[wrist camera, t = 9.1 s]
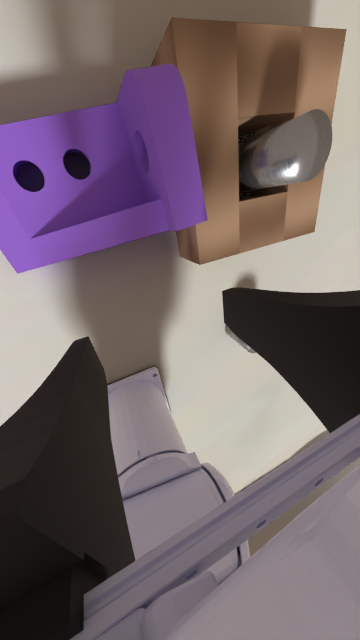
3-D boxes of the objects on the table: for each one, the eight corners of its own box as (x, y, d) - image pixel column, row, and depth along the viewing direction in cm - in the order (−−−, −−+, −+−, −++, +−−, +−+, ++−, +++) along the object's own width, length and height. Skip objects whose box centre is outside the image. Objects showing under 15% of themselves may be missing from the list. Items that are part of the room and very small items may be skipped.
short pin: (246, 330, 27) (268, 346, 24) (225, 339, 26) (246, 357, 23) (246, 309, 25) (270, 323, 22) (224, 318, 24) (246, 333, 21)
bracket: (140, 113, 14) (178, 42, 8) (168, 219, 18) (207, 220, 12) (-56, 154, 12) (-191, 93, 6) (23, 268, 15) (-14, 298, 10)
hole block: (280, 229, 22) (314, 231, 19) (180, 256, 19) (200, 264, 16) (293, 67, 16) (346, 29, 13) (149, 68, 13) (172, 17, 10)
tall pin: (247, 190, 19) (325, 177, 13) (217, 196, 18) (286, 185, 12) (247, 146, 17) (337, 107, 11) (214, 150, 17) (292, 111, 10)
